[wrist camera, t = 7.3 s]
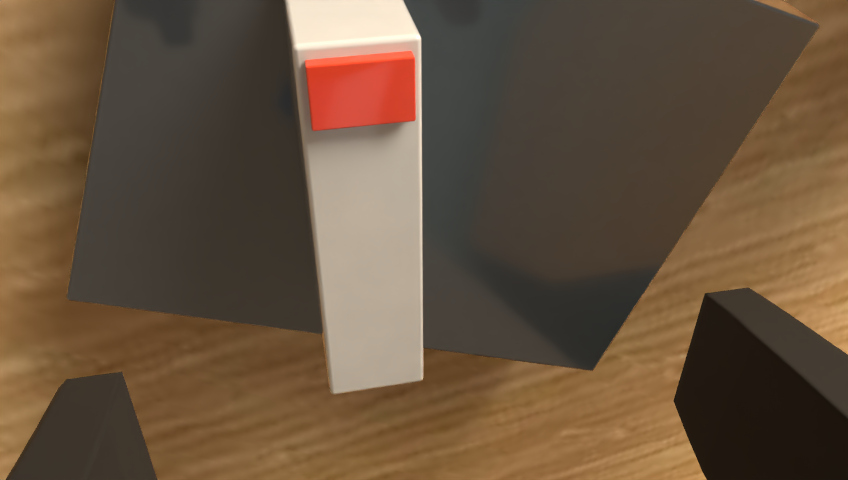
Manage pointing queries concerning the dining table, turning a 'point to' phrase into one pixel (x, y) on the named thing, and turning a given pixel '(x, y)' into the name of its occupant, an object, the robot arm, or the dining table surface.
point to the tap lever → (362, 183)
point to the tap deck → (429, 161)
